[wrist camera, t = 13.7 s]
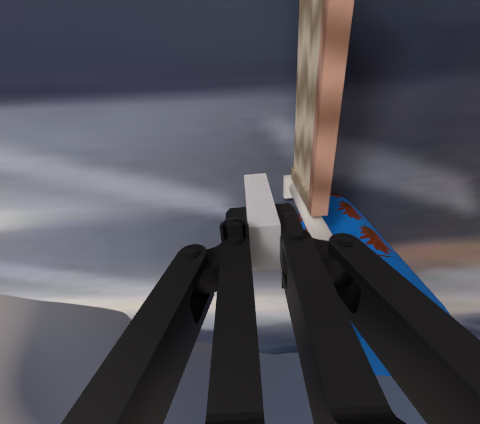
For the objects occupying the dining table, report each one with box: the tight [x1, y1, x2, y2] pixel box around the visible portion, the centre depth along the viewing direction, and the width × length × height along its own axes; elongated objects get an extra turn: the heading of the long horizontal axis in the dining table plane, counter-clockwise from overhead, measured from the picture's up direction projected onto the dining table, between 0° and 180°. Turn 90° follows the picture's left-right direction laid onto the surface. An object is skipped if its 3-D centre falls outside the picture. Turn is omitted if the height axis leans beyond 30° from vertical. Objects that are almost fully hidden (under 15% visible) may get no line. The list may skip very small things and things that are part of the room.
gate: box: [291, 0, 354, 217], centre depth 28 cm, size 24×2×12 cm, turn 5°
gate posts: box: [283, 175, 332, 241], centre depth 28 cm, size 32×4×16 cm, turn 5°
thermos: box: [298, 194, 451, 376], centre depth 34 cm, size 11×11×25 cm
